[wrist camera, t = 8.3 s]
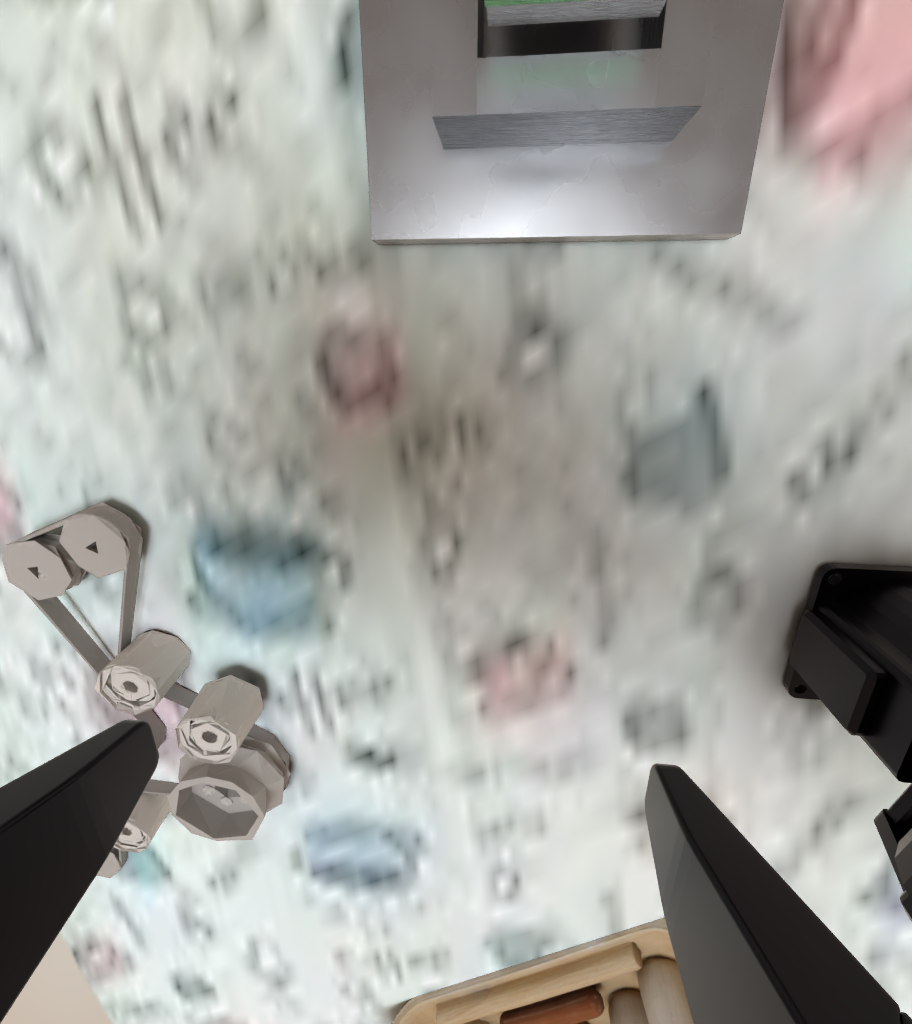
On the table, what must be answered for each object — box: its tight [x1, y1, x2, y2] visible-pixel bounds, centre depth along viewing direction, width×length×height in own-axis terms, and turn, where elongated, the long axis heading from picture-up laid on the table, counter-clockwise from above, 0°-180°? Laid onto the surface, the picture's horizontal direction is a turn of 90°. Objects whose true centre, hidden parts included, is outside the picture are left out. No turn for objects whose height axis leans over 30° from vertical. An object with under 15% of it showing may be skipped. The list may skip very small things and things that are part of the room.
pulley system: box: [2, 502, 291, 878], centre depth 26 cm, size 27×5×15 cm
